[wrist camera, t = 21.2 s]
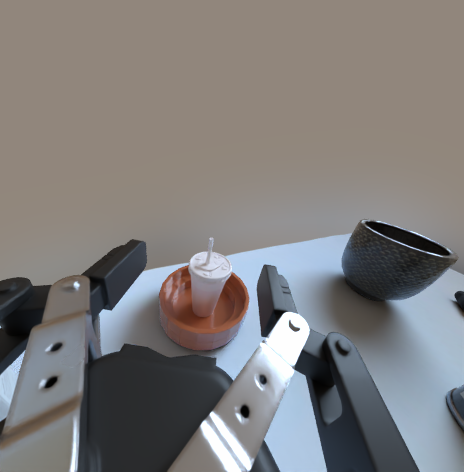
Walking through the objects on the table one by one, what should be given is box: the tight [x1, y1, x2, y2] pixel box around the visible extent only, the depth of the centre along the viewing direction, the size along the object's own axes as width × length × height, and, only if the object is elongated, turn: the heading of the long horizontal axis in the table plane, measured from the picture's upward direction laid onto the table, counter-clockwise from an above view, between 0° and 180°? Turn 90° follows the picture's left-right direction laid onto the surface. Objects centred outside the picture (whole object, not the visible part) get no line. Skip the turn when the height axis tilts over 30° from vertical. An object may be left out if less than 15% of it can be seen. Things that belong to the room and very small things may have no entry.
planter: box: [342, 219, 458, 301], centre depth 42 cm, size 17×17×16 cm
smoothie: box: [188, 238, 232, 317], centre depth 26 cm, size 6×6×14 cm
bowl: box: [159, 265, 249, 350], centre depth 29 cm, size 14×14×4 cm
